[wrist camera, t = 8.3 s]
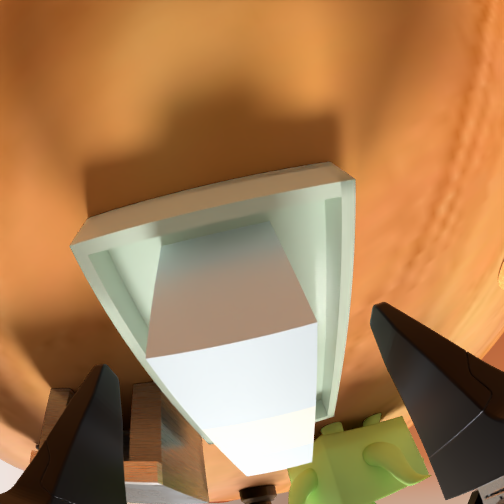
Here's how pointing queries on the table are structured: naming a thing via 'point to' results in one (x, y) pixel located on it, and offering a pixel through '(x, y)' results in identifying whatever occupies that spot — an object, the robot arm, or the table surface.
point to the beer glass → (501, 277)
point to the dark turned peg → (258, 495)
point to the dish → (222, 219)
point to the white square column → (238, 345)
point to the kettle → (358, 464)
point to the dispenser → (151, 448)
